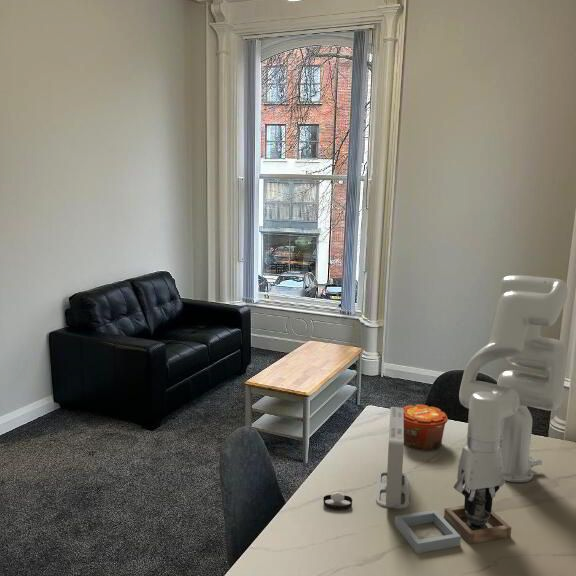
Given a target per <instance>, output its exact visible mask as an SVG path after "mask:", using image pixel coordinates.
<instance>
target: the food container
mask: <svg viewBox="0 0 576 576" xmlns="http://www.w3.org/2000/svg"><path fill="white" fill-rule="evenodd" d="M402 408H403V420H404V446H406V447H408V448H410V449H413V450H415V451H416V450H417V451H425V452H427V451H434V450H438V449H439V448H440V447H441V446H442V442H443V437H444V431H445V426H446V424H447V422H448V421H449V420H448V419H449V418H448V415H447V414H446V413H445V412H444V411H442V409H440V408H439V407H435V406H428V405H427V404H415V405H412V404H409V405H406V406H403V407H402Z"/></svg>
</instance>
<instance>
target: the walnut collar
mask: <svg viewBox="0 0 576 576" xmlns="http://www.w3.org/2000/svg"><path fill="white" fill-rule="evenodd" d="M443 513H444V514H443V518H444V519H445V520H446V521H447V522H448V523H449V524H450V525H451V526H452V527H453V528H454V529H455V531H456V532H457V533H458V534H459V535H460V536H461V537H462V538H463V539H464V540H465V541H466V542H468V543H469V544H468V545H473V544H477V543H478V544H479V543H483V542H488V541H489V542H490V541H494V540H500V539H506V538H511V537H512V536H511V535H512V526H511V525H509V524H508V523H507V522H506V521H505V519H502V518H501V517H500V516H499V515H498V514H497V513H496V512H495V511H493V510H492V509H491V513H489V514H490V518H489V519H488V521H487V522H489V523H490V524H491V525H492V527H488V528H486V529H480V530H474V531H472V530H471V529H470V528H469V527H468V526H467V525H466V522H464V521H463V520H462V519H461V518H467V516H466V513H465V508H464V505H458V506H451V507H447V508H446V507H445V508H444V512H443Z"/></svg>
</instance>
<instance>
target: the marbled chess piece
mask: <svg viewBox="0 0 576 576" xmlns="http://www.w3.org/2000/svg"><path fill="white" fill-rule="evenodd" d="M473 500H474V501H475V512H474V515H473V516H471V515H470V514H469V513H468V512H467V511H466V510H465V513H466V516H467V517H466V519H467V521H466V522H465V524H466V525H467V526H468V527H469V528H470V529H471V530H472V531H474V530H480V529H486V528H489V527H488V525H487V523H488V522H489V521H488V519H489V518H490V514H489V513H488V512H487V511H486V510H485V508H484V507H485V503H486V499H485V488H482V489H476V491H475V495H474V499H473Z"/></svg>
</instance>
